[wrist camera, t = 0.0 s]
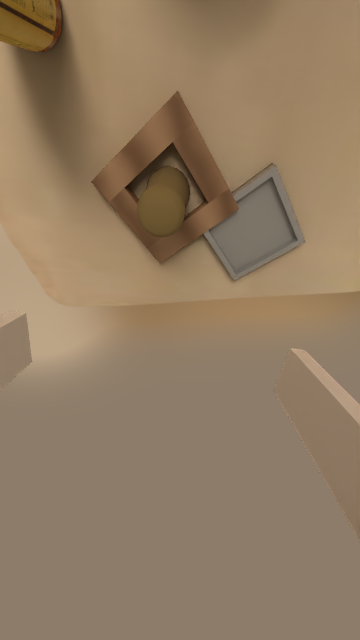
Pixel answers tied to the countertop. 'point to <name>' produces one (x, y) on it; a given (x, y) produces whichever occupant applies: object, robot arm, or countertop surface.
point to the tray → (256, 225)
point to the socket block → (187, 139)
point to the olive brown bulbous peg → (163, 202)
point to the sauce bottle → (30, 23)
